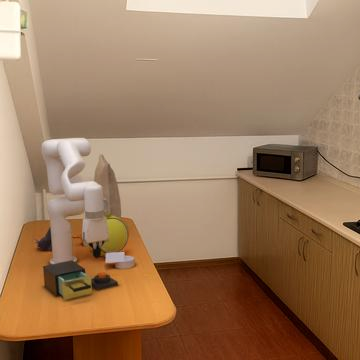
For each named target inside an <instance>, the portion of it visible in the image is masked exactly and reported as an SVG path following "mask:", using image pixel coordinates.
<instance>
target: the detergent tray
mask: <svg viewBox="0 0 360 360" xmlns="http://www.w3.org/2000/svg"><path fill="white" fill-rule="evenodd" d="M91 279H92V275H91V274H89V275H87V274H86V272H85V273H83V272H82V271H81V272H76V273H71V274H67V275H62V276H58V277H57V283H58V292H59V293H60V294H61V296H62V298H63V300H69V299H73V298H77V297H82V296H85V295H90V294H92V293H93V287H92V284H91Z"/></svg>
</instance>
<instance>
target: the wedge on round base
mask: <svg viewBox="0 0 360 360" xmlns="http://www.w3.org/2000/svg"><path fill="white" fill-rule="evenodd" d="M111 263H112V264H113V263H114V267H115V268H116V269H120V270H121V269H123V270H125V269H129V268H130V269H131V268H133V267H134V266H135V257H134V256H132V255H125V251H120V252H114V253H106V257H105V264H111Z"/></svg>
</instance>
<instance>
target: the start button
mask: <svg viewBox="0 0 360 360" xmlns="http://www.w3.org/2000/svg"><path fill="white" fill-rule="evenodd" d="M106 274H107V273H106V272H104V271H103V272H98V273H97V275H98V278H106Z"/></svg>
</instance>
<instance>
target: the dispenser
mask: <svg viewBox="0 0 360 360" xmlns="http://www.w3.org/2000/svg"><path fill="white" fill-rule="evenodd" d="M81 271H82V272H83V273H85V274H86V268H84V267H83V266H82V265H80V264H79V263H77V262H74V261H72V260H71V261H66V262H61V263H56V264H46V265H43V266H42V272H43V285H44V288H45V289H47V290H48V291H49V292H50V293H51V294H53V295H54V296H55V297H60V296H62V295H61V294H60V293H59V292H58V283H57V277H58V276H62V275H67V274H71V273H76V272H81Z"/></svg>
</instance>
